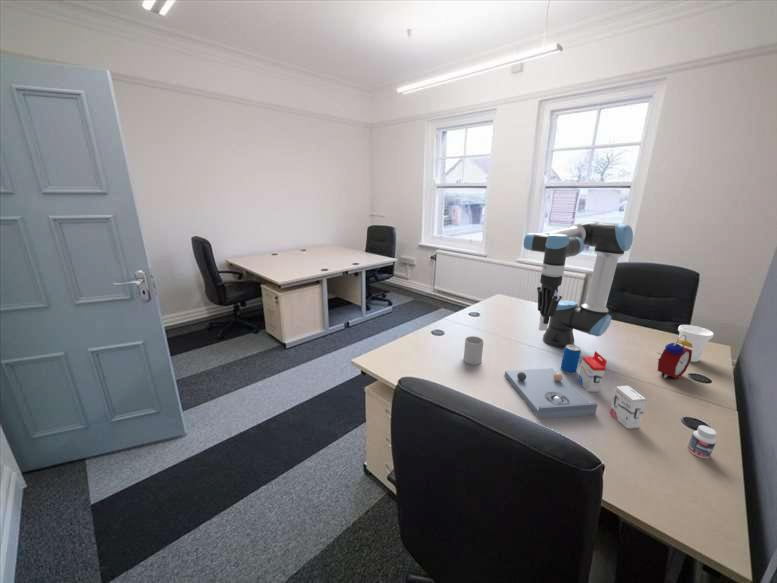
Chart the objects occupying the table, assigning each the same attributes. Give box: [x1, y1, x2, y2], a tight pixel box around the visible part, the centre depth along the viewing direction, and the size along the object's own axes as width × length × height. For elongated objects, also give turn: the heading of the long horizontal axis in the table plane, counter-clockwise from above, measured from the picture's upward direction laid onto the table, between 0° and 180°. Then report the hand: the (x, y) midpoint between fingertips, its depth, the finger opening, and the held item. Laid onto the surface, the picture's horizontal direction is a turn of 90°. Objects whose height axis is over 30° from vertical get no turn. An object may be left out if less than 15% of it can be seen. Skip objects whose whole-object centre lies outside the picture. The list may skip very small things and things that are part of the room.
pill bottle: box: [687, 424, 717, 459], centre depth 101 cm, size 5×5×9 cm
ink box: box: [609, 385, 647, 429], centre depth 114 cm, size 9×5×12 cm, turn 5°
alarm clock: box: [657, 335, 693, 379], centre depth 142 cm, size 15×9×20 cm, turn 117°
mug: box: [463, 335, 484, 366], centre depth 156 cm, size 12×8×11 cm
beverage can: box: [560, 344, 582, 375], centre depth 145 cm, size 6×6×12 cm
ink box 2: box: [577, 351, 607, 393], centre depth 134 cm, size 8×5×15 cm, turn 178°
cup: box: [677, 324, 715, 363], centre depth 156 cm, size 12×12×15 cm
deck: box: [504, 367, 598, 419], centre depth 130 cm, size 28×22×4 cm
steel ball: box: [552, 396, 562, 403], centre depth 123 cm, size 4×4×4 cm
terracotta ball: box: [553, 372, 564, 381], centre depth 135 cm, size 4×4×4 cm
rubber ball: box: [517, 372, 526, 381], centre depth 135 cm, size 4×4×4 cm
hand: (542, 329), depth 132 cm, fingers closed
